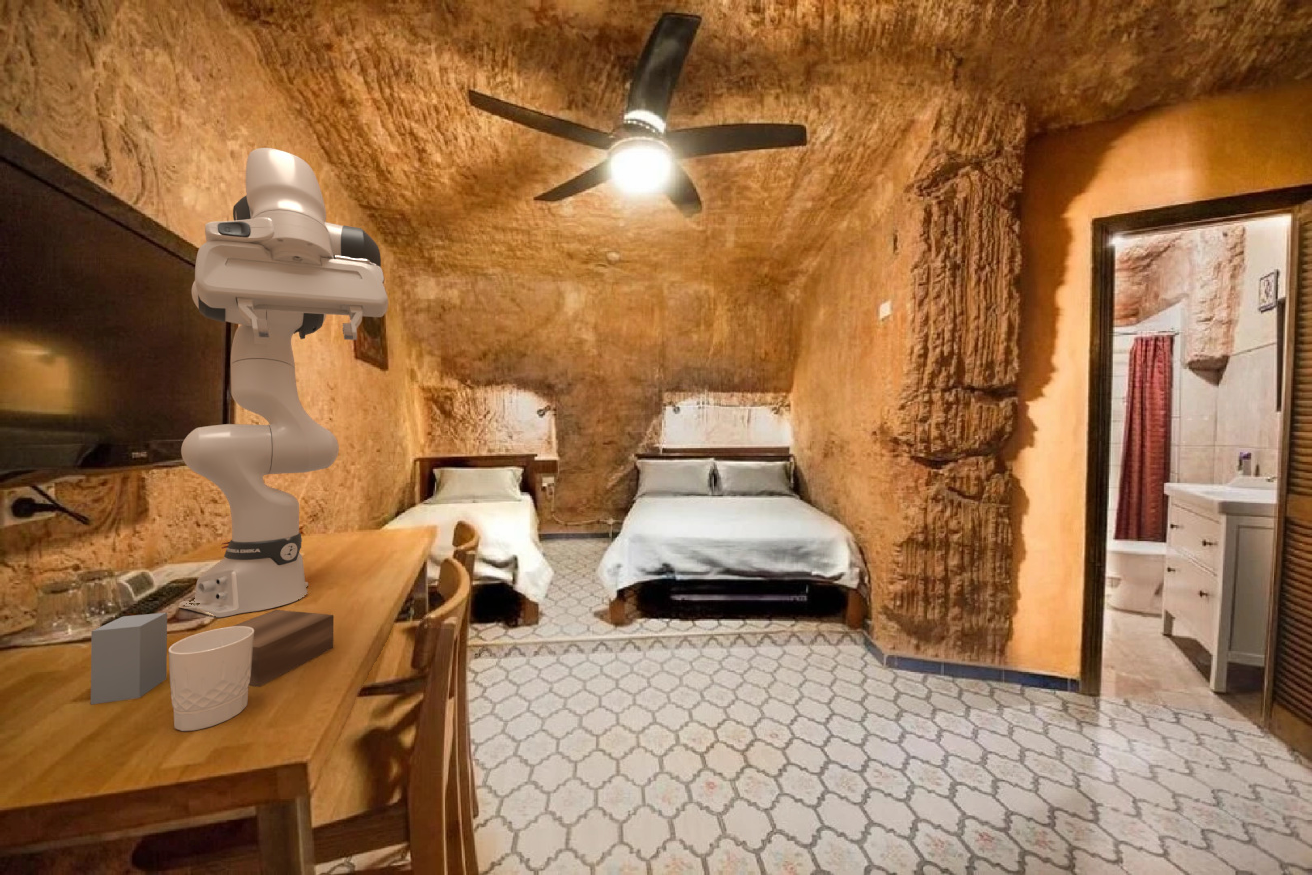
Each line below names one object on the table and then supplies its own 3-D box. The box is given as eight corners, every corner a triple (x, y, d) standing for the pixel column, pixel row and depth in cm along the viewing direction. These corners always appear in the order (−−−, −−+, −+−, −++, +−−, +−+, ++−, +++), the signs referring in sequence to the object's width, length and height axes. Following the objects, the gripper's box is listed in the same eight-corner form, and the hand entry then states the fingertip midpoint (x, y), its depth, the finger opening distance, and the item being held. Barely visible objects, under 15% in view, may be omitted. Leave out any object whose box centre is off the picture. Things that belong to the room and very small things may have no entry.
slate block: (90, 704, 59) (91, 630, 59) (121, 684, 64) (122, 616, 64) (139, 697, 61) (140, 626, 61) (166, 678, 65) (167, 612, 65)
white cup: (218, 694, 61) (219, 624, 61) (269, 699, 61) (270, 627, 61) (148, 732, 54) (149, 651, 54) (204, 737, 53) (206, 655, 53)
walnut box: (193, 680, 66) (193, 640, 66) (275, 643, 77) (276, 609, 77) (259, 688, 64) (259, 647, 64) (333, 649, 75) (333, 614, 75)
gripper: (379, 274, 70) (394, 349, 67) (198, 254, 57) (207, 346, 54) (382, 248, 66) (399, 327, 63) (186, 219, 53) (195, 318, 50)
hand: (308, 336), depth 58 cm, fingers open, 8 cm apart
